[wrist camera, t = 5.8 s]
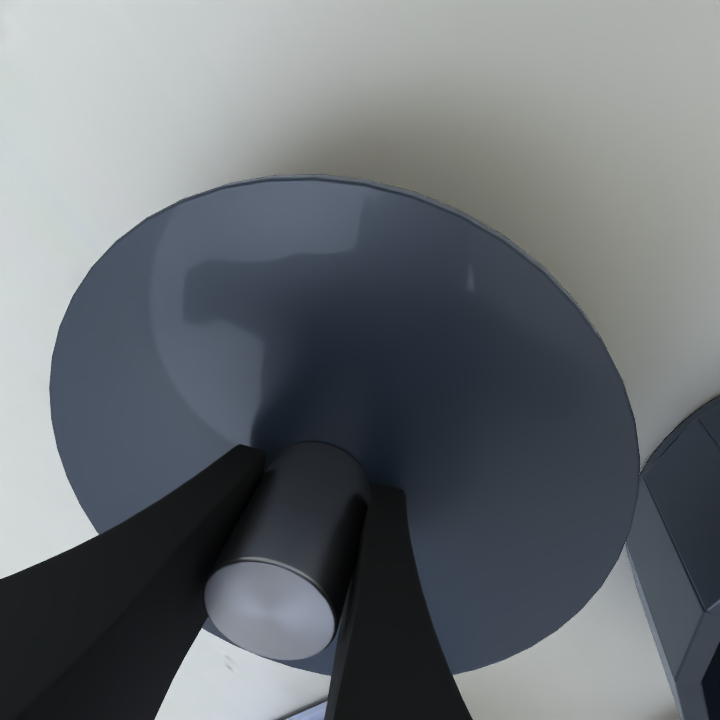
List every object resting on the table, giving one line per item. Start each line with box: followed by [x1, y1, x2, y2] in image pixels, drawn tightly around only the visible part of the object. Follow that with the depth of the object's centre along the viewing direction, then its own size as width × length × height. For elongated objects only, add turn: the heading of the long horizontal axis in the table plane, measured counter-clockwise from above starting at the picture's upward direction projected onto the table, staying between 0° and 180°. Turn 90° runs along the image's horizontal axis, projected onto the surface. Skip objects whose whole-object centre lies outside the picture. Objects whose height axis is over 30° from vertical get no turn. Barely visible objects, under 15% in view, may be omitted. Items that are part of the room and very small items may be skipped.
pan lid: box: [49, 174, 640, 676], centre depth 11 cm, size 13×13×4 cm
